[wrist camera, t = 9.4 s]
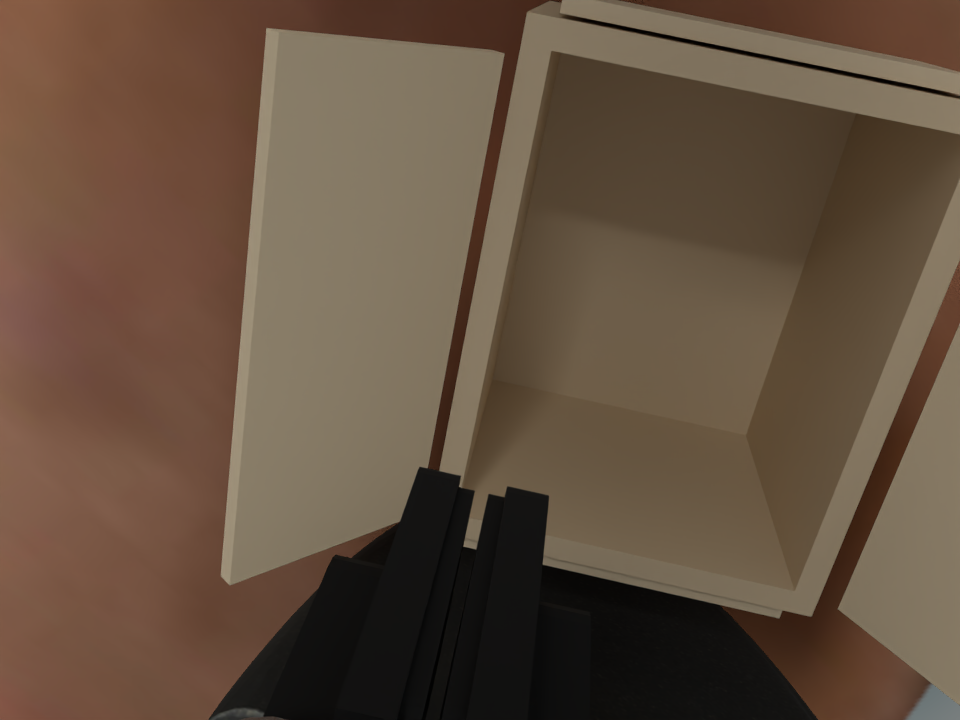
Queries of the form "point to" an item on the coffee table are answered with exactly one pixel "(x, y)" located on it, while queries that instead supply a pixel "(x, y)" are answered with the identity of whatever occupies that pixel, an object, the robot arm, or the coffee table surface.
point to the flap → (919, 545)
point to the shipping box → (702, 294)
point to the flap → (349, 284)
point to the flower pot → (597, 653)
